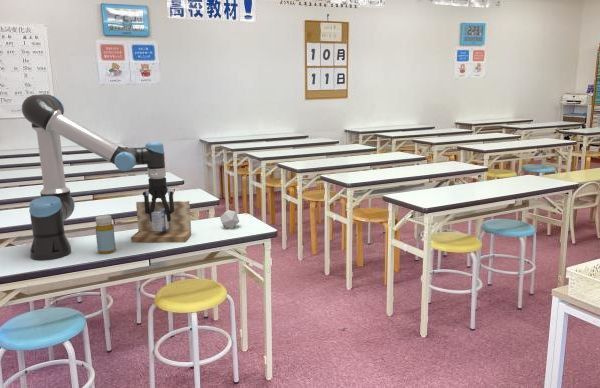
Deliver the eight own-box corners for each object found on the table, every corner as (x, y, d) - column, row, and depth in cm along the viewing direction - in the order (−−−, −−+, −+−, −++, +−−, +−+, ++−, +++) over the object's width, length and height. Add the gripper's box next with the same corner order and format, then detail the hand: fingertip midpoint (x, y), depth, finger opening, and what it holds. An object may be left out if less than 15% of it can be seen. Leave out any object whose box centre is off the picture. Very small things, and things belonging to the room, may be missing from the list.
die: (225, 225, 253) (214, 212, 246) (240, 216, 252) (230, 203, 246) (228, 235, 246) (218, 222, 240) (244, 226, 246) (234, 212, 240)
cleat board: (131, 242, 225) (128, 207, 221) (139, 235, 236) (137, 201, 233) (185, 242, 224) (183, 206, 221) (191, 234, 235) (189, 201, 232)
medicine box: (161, 231, 224) (160, 212, 223) (152, 231, 225) (151, 212, 224) (169, 227, 232) (168, 208, 230) (160, 226, 233) (159, 208, 231)
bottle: (117, 248, 217) (113, 214, 214) (114, 253, 210) (110, 218, 207) (99, 249, 216) (96, 215, 213) (96, 254, 209) (92, 219, 206)
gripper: (133, 179, 220) (138, 231, 225) (175, 178, 220) (179, 230, 225) (139, 176, 228) (143, 226, 233) (179, 175, 227) (183, 226, 232)
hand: (161, 228), depth 229 cm, fingers closed on medicine box, 5 cm apart
